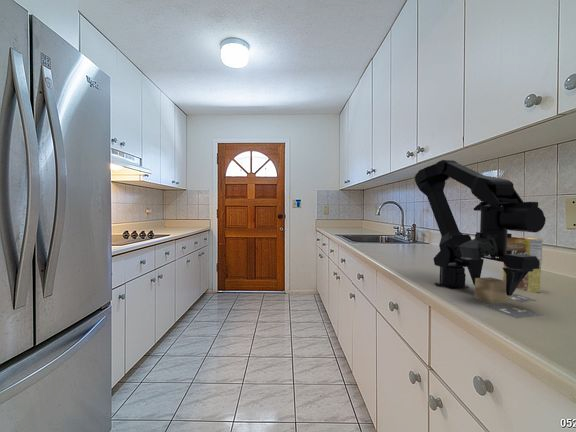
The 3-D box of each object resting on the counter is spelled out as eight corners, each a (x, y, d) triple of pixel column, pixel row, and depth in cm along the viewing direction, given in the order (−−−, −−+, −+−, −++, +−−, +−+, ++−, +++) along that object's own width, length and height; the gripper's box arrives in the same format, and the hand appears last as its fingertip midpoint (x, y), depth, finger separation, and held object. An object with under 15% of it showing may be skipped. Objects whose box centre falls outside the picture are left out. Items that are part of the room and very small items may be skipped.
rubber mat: (471, 298, 77) (471, 296, 77) (490, 296, 79) (490, 295, 79) (492, 305, 72) (492, 304, 72) (512, 304, 73) (512, 302, 73)
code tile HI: (497, 296, 79) (497, 295, 79) (515, 295, 80) (515, 293, 80) (520, 304, 73) (520, 302, 73) (538, 302, 75) (538, 300, 75)
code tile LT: (482, 307, 70) (482, 305, 70) (509, 305, 72) (509, 303, 72) (516, 320, 63) (516, 318, 63) (544, 317, 65) (544, 315, 64)
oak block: (474, 297, 77) (475, 278, 77) (489, 295, 78) (490, 277, 78) (492, 303, 72) (492, 283, 72) (508, 301, 74) (508, 281, 73)
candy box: (501, 284, 92) (503, 235, 91) (514, 284, 92) (516, 235, 91) (527, 293, 83) (529, 238, 82) (541, 292, 83) (543, 238, 83)
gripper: (439, 226, 82) (437, 282, 82) (503, 232, 64) (501, 304, 64) (472, 226, 84) (470, 280, 85) (542, 232, 66) (540, 300, 67)
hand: (491, 290), depth 75 cm, fingers open, 9 cm apart
